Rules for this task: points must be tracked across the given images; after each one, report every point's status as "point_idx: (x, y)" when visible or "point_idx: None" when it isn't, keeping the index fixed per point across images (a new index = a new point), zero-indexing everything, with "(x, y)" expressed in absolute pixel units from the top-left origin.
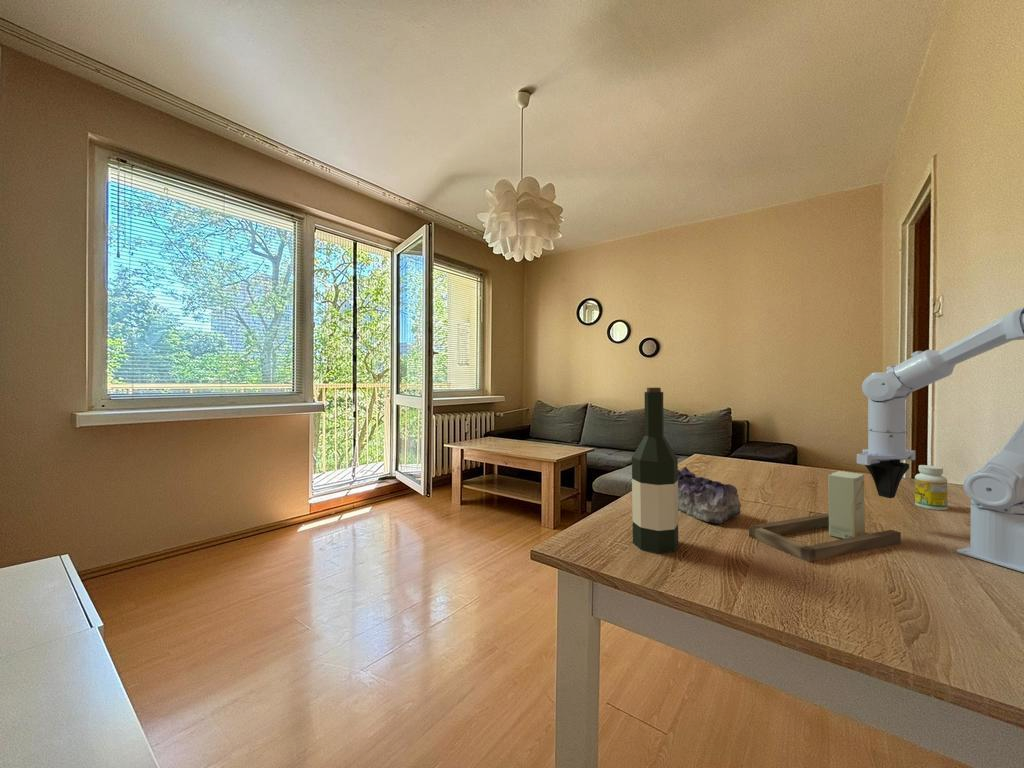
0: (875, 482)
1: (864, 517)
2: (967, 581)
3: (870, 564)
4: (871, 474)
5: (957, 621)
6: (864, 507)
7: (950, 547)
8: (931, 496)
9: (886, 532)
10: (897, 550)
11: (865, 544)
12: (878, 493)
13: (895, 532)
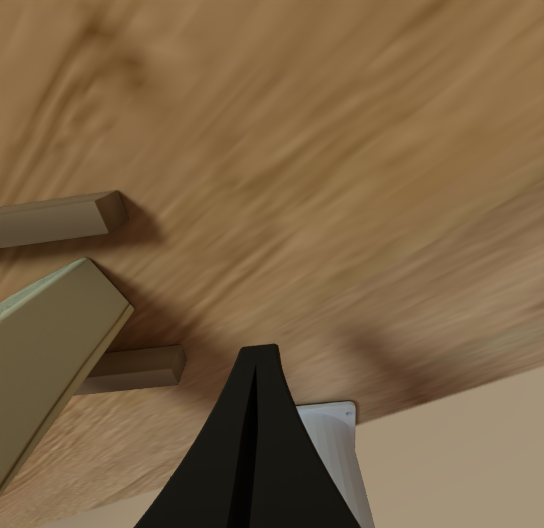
0: (212, 416)
1: (103, 352)
2: (148, 461)
3: None
4: (168, 484)
5: (35, 500)
6: (81, 383)
7: None
8: None
9: (135, 380)
10: None
11: None
12: (238, 356)
13: (163, 382)
